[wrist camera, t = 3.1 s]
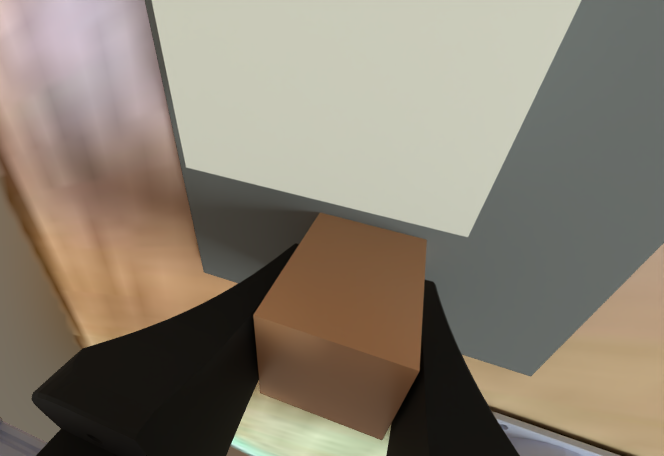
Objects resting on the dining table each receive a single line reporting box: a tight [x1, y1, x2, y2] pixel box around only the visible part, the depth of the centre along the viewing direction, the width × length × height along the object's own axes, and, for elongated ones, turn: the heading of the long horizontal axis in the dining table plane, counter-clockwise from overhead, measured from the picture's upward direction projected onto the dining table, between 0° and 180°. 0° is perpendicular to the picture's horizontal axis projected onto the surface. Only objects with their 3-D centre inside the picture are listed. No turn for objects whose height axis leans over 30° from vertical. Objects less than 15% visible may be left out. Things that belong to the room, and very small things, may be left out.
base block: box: [152, 0, 581, 237], centre depth 6 cm, size 6×6×4 cm
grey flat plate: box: [145, 0, 664, 376], centre depth 10 cm, size 16×15×1 cm
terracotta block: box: [253, 213, 427, 440], centre depth 10 cm, size 4×4×5 cm
